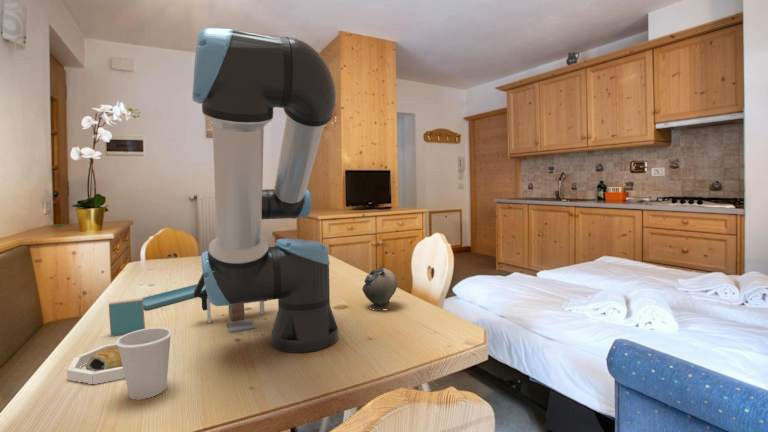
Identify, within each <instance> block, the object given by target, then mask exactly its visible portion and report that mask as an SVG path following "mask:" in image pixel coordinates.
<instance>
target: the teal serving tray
mask: <svg viewBox="0 0 768 432" xmlns="http://www.w3.org/2000/svg"><path fill="white" fill-rule="evenodd" d="M197 284H198V283H195V284H192V285H188V286H184V287H180V288H176V289H173V290H168V291H164V292H160V293H157V294H153V295H149V296H145V297H142V298H143V303H144V310H147V311H150V310H154V309H157V308H160V307H164V306H169V305H172V304H176V303H179V302H184V301H186V300H190V299H194V298H195V297H194V290H195V288H196V286H197ZM205 288H206V287H205V284H204V286H203V288H202V290H201V292H203V291H204V289H205Z"/></svg>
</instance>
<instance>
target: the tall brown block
mask: <svg viewBox="0 0 768 432" xmlns="http://www.w3.org/2000/svg"><path fill="white" fill-rule="evenodd" d="M228 316H229V317H230V320H231V321H230V322H229V321H228V322H226V328H227V329H228V332H229V334H233V333H241V332H245V331H252V330H256V325H255V324H254V322H253V321H252V319H251V318H249V319H248V318H247V319H245V303H243V304H235V305H234V306H230V305H228Z"/></svg>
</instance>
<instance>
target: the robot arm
mask: <svg viewBox="0 0 768 432" xmlns="http://www.w3.org/2000/svg"><path fill="white" fill-rule="evenodd" d="M196 37H197V38H196V46H195V57H194V67H193V82H192V83H193V84H192V97H191V99H192V101H193V102H194V103H197V104H200V105H201V108H202V114H203V116H204V117H205V118H206V119H208V120H209V121H210V123H211V124H212V145H213V146H212V147H213V149H212V150H213V171H214V172H213V173H214V174H213V175H214V176H213V177H214V202H215V203H214V205H215V207H214V208H215V209H214V210H215V234H216V236H215V238H214V239H212V240H211V242H210V243H209V245H208V250H206V251H204V252H202V253H201V258H200V260H201V267H202V274H201V276H200V278H199V279H198V283H196V284H197V286H196V288H195V290H194V298H200V299H201V308H202V311H206V320H207V324H212V312H211V311H212V310H211V305H213V306H215V307H225V306H226V307H227V306H228V307H229V305H230V306H234V305H235V304H243V303H244V304H250V303H258V302H259V313H260V314H261V315H265V302H268V301H272V300H277V301H278V303H277V304H278V310H277V313H276V316H275V319H274V324H273V326H272V330H271V334H270V335H271V345H272V346H273V348H274V349H277V350H279V351H282V352H286V353H287V352H288V353H308V352H314V351H320V350H322V349H326V348H328V347H330V346H333V345H334V344H335V343H336V342H337V341H338V339H339V327H338V324H337V320H336V318H335V316H334V314H333V311H332V307H331V301H330V300H331V299H330V296H331V295H330V262H331V261H330V258H329V257H330V255H329V249H328V247H327V245H326V244H324V243H323V242H320V241H316V240H310V239H301V238H279V239H276V242H275V244H274V245H275V246H269V243H268V241H267V240H266V239H265V237H263V236H262V220H277V219H279V220H280V219H283V220H284V219H293V220H294V219H297V218H307V217H308V216H309V215H310V214H311V212H312V211H311V210H312V196H311V193H310V190H308V189H307V188H308V184H309V180H310V179H311V178H310V176H311V174H312V172H313V171H312V170H313V167H314V164H315V160H316V156H317V152H318V150H319V149H318V148H319V145H320V141H321V138H322V136H323V135H322V134H323V131H324V128H325V126H327V125H328V124H329V123H330V122H331V120H332V119H333V115H334V111H335V109H336V100H337V99H336V98H337V97H336V94H337V93H336V86H335V82H334V78H333V75H332V72H331V70H330V68H329V67H328V64H327V63H326V61H325V59H324V58H323V57H322V55H320V53H319V52H318V51H317V50H316V49H314V47H313V46H311V45H309V44H308V43H307V42H305V41H303V40H301V39H298V38H294V37H291V36H290V37H289V36H278V35H271V34H264V33H258V32H257V33H256V32H251V31H244V30H238V29H233V28H221V27H220V28H219V27H218V28H217V27H205V28H202V29H201V30H200V31H199V32H198V34H197V36H196ZM274 108H280V109H281V108H282V109H283V112H284V113H285V115H286V118H285V123H284V129H283V137H282V141H281V147H280V153H279V158H278V164H277V170H276V175H275V180H274V182H275V183H274V187H273V188H271V189H266V188H265V189H263V175H264V173H263V172H264V171H263V170H264V169H263V167H264V135H265V133H264V132H265V129H264V128H265V126H267V124H269V123H270V122H271V121H272V120H273V118H274ZM204 284H205V287H206V288H205V289H204V291H203V292H201V290H202V288H203V286H204Z"/></svg>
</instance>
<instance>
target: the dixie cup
mask: <svg viewBox="0 0 768 432" xmlns="http://www.w3.org/2000/svg"><path fill="white" fill-rule="evenodd" d="M172 335H173V331H172V330H170V329H169V328H167V327H149V328H145V329H142V330H137V331H134V332H131V333H128V334H124V335H120V337H119V338H118V339H117V340H116V341H115V343H116V345H117V346H118V348H119V353H120V357H121V362H122V366H123V370H124V375H125V379H124V380H125V382H126V383H125V384H126V387H127V391H128V396H129V398H130V399H131V400H134V399H136V400H135V401H141V399H143V400H147V399H146V398H148V399H151V398H150V397H152V398H154V397H153V396H155V395H157V396H159V395H160V394H159V393H161V392H162V391H164V390H165V389H167V385H168V384H167V383H168V373H169V359H170V350H171V349H170V347H171V346H170V345H171V336H172ZM165 391H166V390H165ZM165 391H164V392H165ZM162 393H163V392H162ZM162 393H161V394H162ZM158 394H159V395H158ZM155 397H156V396H155Z"/></svg>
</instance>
